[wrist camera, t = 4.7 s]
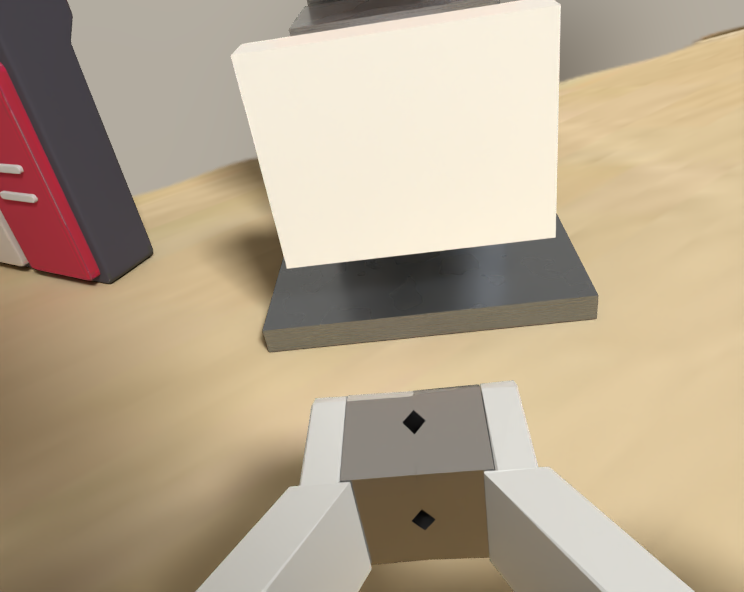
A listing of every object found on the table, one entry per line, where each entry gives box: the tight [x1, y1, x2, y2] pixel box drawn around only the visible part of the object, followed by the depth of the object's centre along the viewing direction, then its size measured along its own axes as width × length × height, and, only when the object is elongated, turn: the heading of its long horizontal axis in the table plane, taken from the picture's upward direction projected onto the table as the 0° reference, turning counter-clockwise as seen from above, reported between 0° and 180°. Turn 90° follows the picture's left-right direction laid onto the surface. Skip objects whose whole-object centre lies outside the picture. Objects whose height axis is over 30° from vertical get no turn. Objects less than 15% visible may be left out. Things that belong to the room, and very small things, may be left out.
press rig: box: [263, 0, 598, 352], centre depth 24 cm, size 12×17×18 cm
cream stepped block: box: [231, 0, 561, 269], centre depth 21 cm, size 9×8×7 cm
